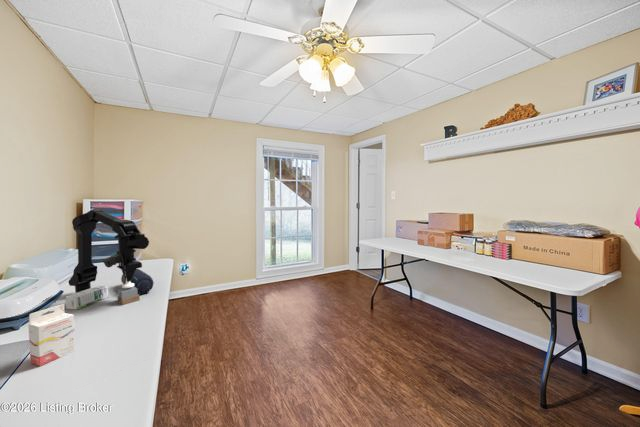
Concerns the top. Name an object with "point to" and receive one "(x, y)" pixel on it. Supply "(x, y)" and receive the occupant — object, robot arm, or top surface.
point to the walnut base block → (128, 299)
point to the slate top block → (127, 292)
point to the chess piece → (127, 284)
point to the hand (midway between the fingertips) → (127, 281)
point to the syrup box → (86, 297)
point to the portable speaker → (140, 281)
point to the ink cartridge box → (51, 335)
